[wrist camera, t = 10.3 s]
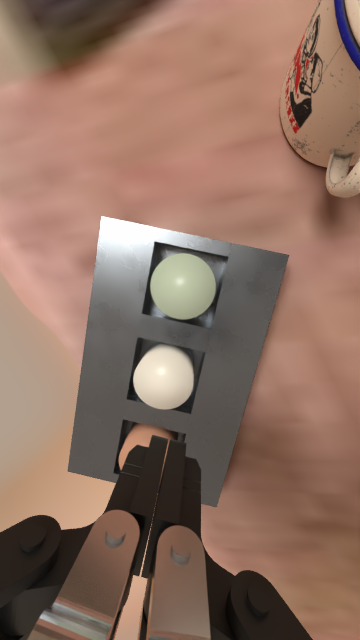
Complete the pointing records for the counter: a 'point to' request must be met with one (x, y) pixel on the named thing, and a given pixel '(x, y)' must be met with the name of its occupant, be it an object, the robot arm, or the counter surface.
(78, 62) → the counter surface
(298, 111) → the teacup with lid
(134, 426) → the orange rounded piece
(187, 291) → the sage button
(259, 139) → the counter surface
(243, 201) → the counter surface
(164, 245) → the panel
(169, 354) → the ivory button
